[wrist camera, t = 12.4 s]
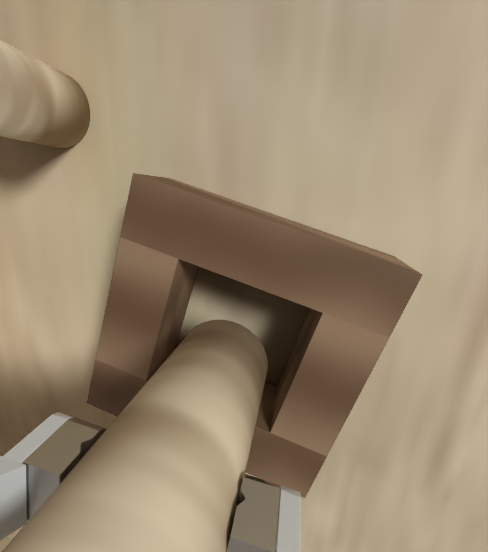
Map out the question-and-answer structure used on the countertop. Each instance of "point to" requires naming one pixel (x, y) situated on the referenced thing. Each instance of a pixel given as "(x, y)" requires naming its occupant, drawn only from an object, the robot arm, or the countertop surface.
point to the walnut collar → (265, 276)
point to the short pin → (40, 102)
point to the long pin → (164, 457)
